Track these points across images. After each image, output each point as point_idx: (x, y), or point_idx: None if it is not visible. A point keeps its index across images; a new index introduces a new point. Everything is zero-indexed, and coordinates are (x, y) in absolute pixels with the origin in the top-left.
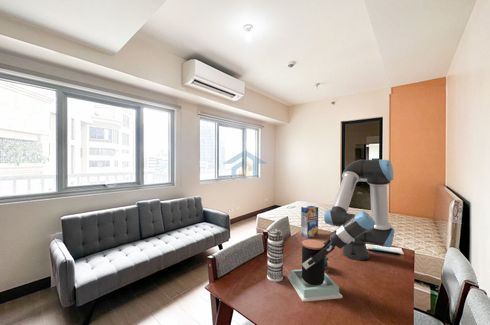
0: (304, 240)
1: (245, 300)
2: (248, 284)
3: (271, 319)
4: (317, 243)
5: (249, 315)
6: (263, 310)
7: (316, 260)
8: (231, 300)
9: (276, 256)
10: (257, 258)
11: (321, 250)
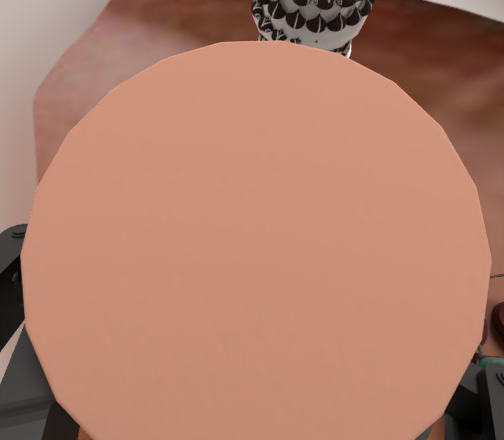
0: (350, 68)
1: (117, 46)
2: (209, 32)
3: (38, 134)
4: (265, 314)
5: (50, 73)
6: (76, 105)
7: (20, 276)
8: (110, 11)
9: (258, 7)
10: (438, 13)
11: (10, 369)
